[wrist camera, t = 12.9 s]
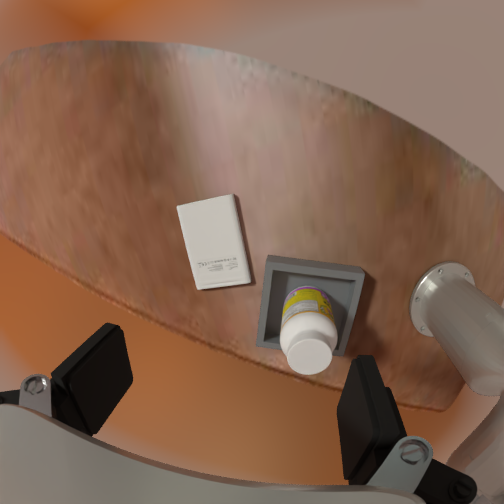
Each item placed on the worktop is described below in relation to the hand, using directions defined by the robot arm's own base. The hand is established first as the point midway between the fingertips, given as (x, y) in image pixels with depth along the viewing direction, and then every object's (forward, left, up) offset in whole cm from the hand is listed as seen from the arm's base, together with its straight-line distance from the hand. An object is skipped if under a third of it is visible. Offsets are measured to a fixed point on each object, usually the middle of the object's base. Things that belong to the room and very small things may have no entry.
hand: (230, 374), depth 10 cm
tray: (-6, +10, -29) cm, 31 cm away
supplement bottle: (-5, +10, -29) cm, 31 cm away
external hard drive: (+8, +3, -30) cm, 31 cm away
